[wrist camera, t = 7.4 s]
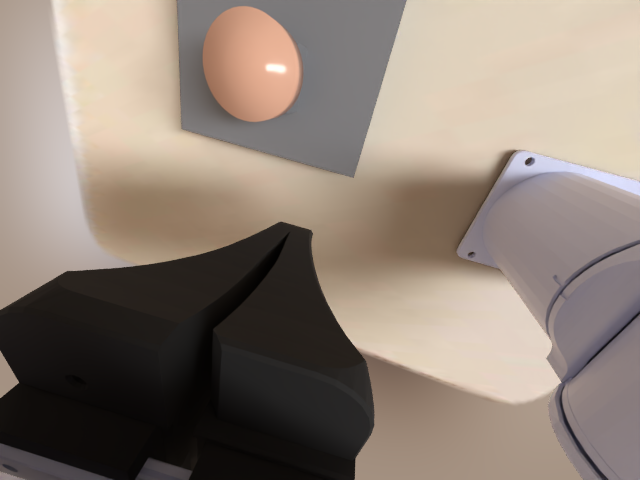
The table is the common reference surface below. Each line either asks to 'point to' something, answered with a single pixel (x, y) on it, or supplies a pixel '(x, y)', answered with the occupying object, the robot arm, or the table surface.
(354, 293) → the table surface
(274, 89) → the peach knob
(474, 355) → the table surface
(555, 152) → the table surface
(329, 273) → the table surface
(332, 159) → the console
